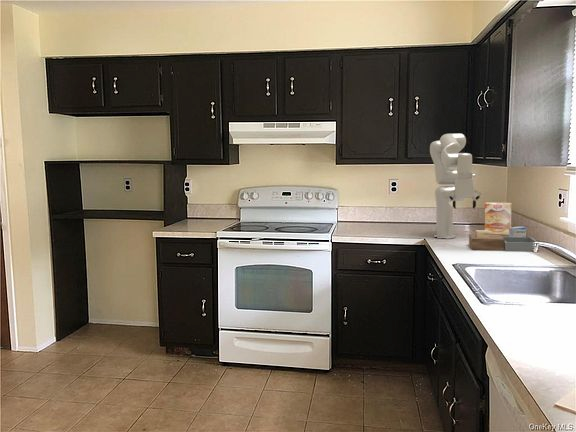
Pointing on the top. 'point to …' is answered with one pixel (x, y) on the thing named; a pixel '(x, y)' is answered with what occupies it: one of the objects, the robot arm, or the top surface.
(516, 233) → the medicine box
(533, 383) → the top surface
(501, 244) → the walnut riser
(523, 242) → the bin
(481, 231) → the birch tile
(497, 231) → the coffeecake box
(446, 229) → the robot arm
